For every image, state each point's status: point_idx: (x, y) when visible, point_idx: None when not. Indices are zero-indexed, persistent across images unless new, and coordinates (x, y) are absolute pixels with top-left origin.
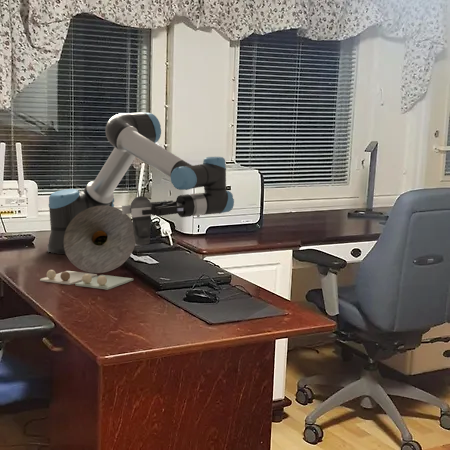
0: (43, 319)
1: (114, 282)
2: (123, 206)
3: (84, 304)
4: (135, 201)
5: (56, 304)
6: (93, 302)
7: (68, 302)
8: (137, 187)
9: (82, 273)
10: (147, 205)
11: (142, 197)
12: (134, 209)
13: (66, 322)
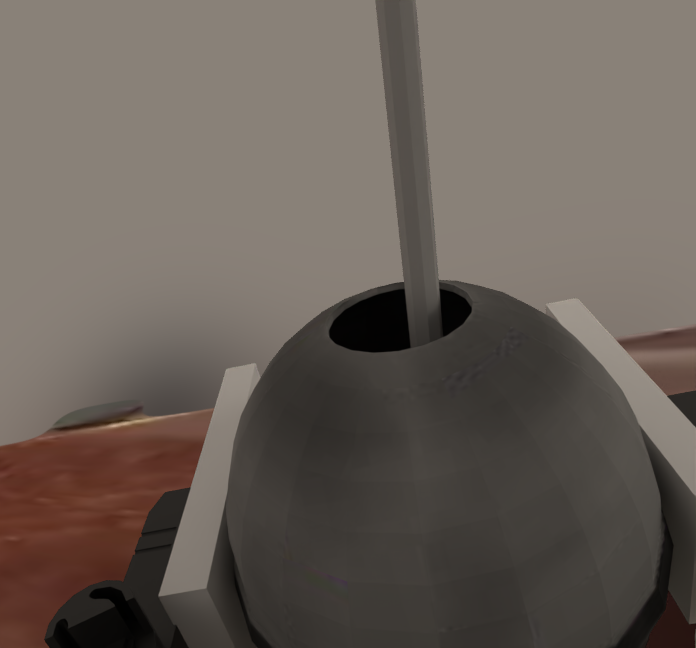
0: (99, 412)
1: None
2: (551, 314)
3: (131, 496)
4: (332, 326)
5: (203, 435)
6: (126, 522)
7: (196, 461)
8: (386, 79)
9: None
10: (227, 523)
11: (309, 338)
12: (222, 392)
13: (23, 449)
